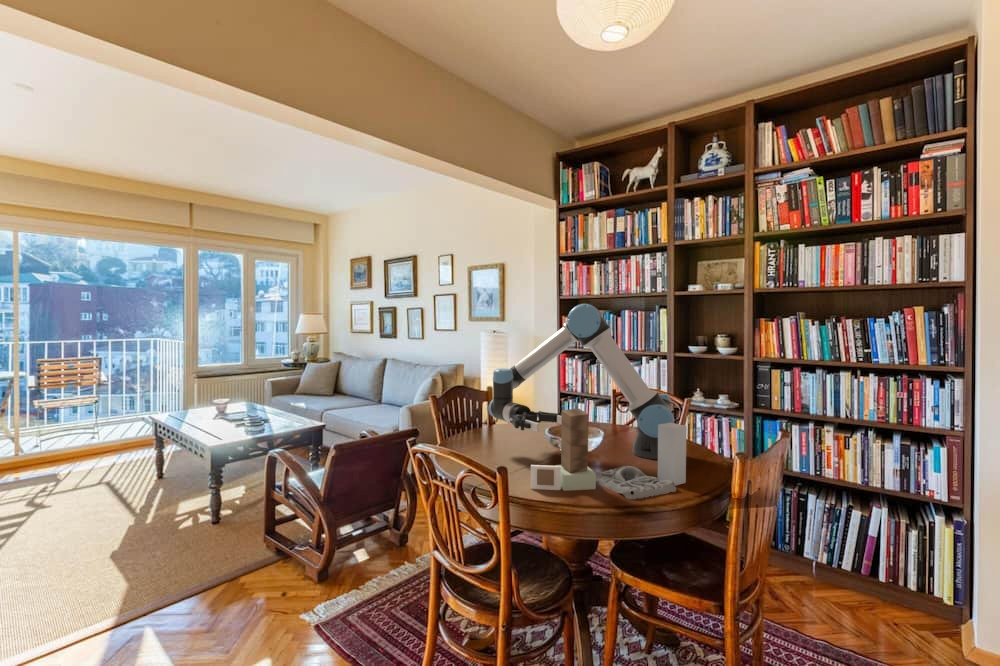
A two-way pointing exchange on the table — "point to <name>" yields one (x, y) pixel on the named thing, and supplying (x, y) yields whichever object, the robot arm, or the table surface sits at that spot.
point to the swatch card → (545, 477)
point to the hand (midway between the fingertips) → (554, 425)
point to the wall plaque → (633, 482)
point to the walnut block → (574, 440)
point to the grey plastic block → (672, 452)
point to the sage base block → (577, 480)
